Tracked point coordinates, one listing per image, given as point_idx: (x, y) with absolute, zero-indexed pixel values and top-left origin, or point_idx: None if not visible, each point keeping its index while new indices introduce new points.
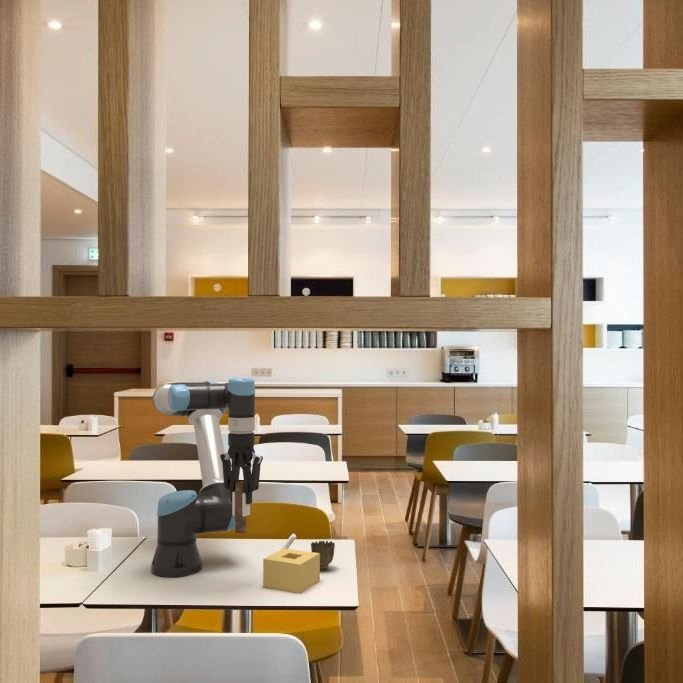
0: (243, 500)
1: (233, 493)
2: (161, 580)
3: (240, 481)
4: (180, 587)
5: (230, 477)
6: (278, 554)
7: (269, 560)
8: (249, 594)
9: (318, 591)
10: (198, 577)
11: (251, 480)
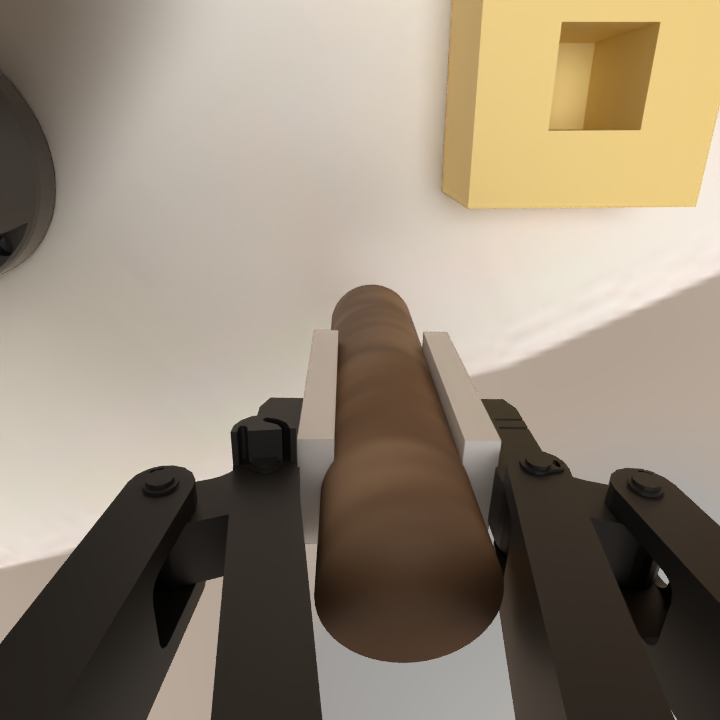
0: None
1: (316, 532)
2: (10, 314)
3: (349, 542)
4: (143, 345)
5: (141, 624)
6: (513, 87)
7: (506, 207)
8: (432, 292)
9: None
10: (108, 210)
11: (676, 701)
